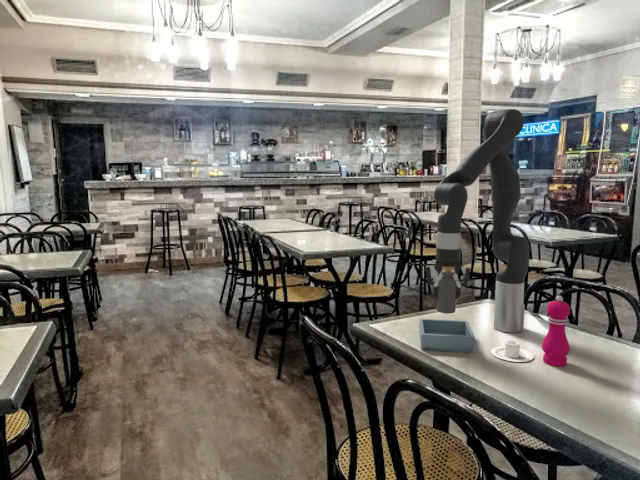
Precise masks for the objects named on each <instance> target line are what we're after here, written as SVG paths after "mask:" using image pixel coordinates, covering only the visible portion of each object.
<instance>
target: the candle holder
mask: <svg viewBox="0 0 640 480" xmlns="http://www.w3.org/2000/svg"><path fill="white" fill-rule="evenodd" d="M520 343H521V342H519V341H517V340H506V341H505V342H504V346H503V345H502V346H495V347H493V348H491V350H490V353H491V354H492V355H493V356H494V357H496V358H498V359H500V360H504V361H506V362H507V361H509V362H515V363H525V362H529V361H532V360H533V359H534V354H533V353H532V352H530V350H529V351H528V350H527V349H524V348H521V344H520ZM503 350H504V356H506V357H507V358H506V357H502V356H500V355H499V354H498V352H499V351H503ZM520 353H522V354H524V355H525V356H526V358H524V359H523V358H522V359H517V358H520Z"/></svg>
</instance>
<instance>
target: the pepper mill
mask: <svg viewBox="0 0 640 480" xmlns="http://www.w3.org/2000/svg"><path fill="white" fill-rule="evenodd" d="M546 312H547V314H548V319H547V321H548V323H549V325H548V331H547V333H546V335H545V336H544V339H543V341H542V343H541V344H542V345H541V349H542V352H543V355H542V361H543V362H544V363H545V364H546V365H549V366H553V367H565V366H566V365H567V364H568V358H567V355H569V354H570V351H571V350H570V343H569V341H568V337H567V333H566V325H567V324H568V316H569V315H570V314H571V308H570V305H569V304H568V303H567V302H565V301H563V296H562V295H557V296H556V297H555V300H552V301H549V303H548V304H547V306H546Z"/></svg>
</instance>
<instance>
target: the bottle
mask: <svg viewBox="0 0 640 480" xmlns="http://www.w3.org/2000/svg"><path fill="white" fill-rule="evenodd" d="M441 267H442V268H444V269H445V272H443V273H442V274H441V275H443V277H442V279H441V280H440V281H439V284H438V298H436V311H437V312H438V313H442V314H447V315H448V314H449V315H450V314H454V313H456V303H457V299H456V286H457V284H456V281H455V280H454V278H453V275H454V273H453V272H451V270H452V268H453V269H455V266H441Z"/></svg>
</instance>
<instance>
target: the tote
mask: <svg viewBox="0 0 640 480" xmlns="http://www.w3.org/2000/svg"><path fill="white" fill-rule="evenodd" d="M418 324H419V325H418V334H419V335H418V336H419V344H420V350H421V351H435V352H436V351H437V352H439V351H440V352H453V353H472V354H474V353H475V344H476V343H475V341H476V338H475V337H476V336H475V335H474V332H473V330H472V327H471V326H470V323H469V321H468V320H457V319H456V320H455V319H437V318H436V319H435V318H434V319H433V318H432V319H430V318H419V322H418Z"/></svg>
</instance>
